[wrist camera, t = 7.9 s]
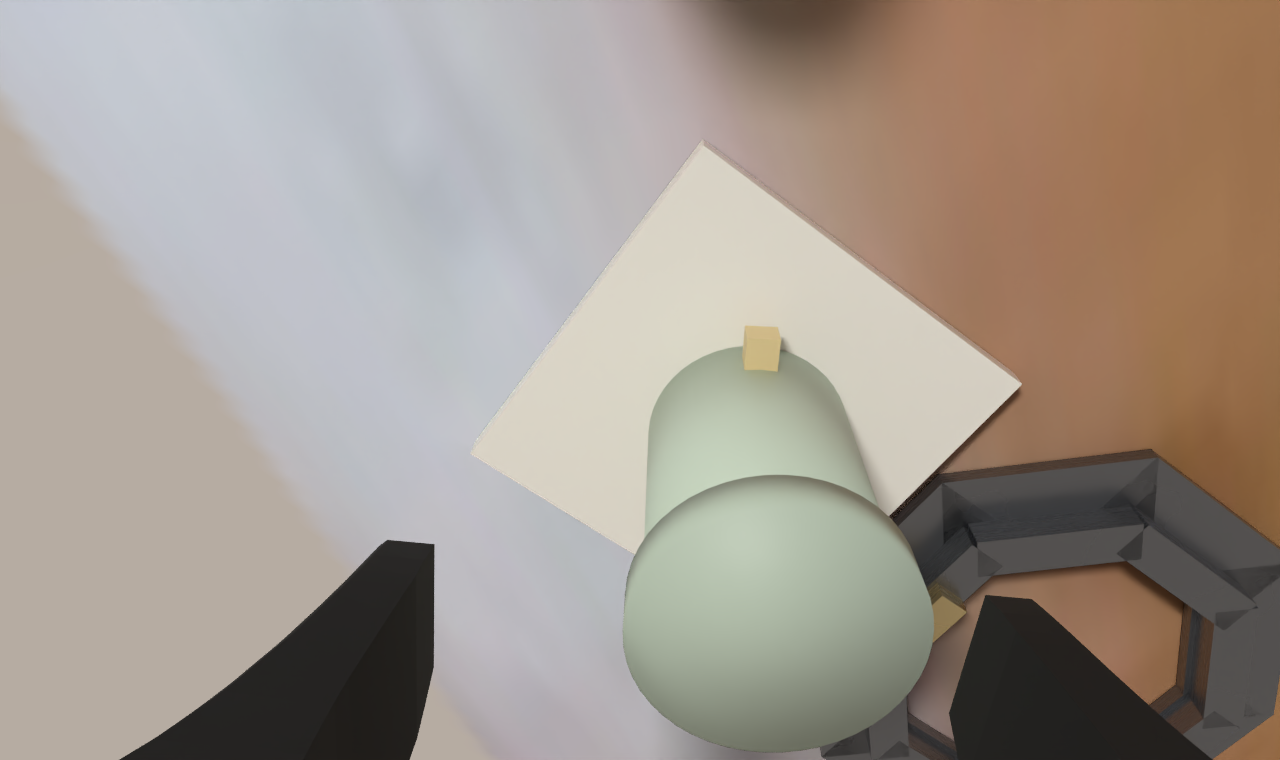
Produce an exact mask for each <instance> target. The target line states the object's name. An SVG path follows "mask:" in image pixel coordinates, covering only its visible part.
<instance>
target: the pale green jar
mask: <svg viewBox="0 0 1280 760" xmlns="http://www.w3.org/2000/svg"><path fill="white" fill-rule="evenodd" d="M780 345H781V338H780V334H779V330H778V327H767V326H745V331H744V342H743V346H740V347H732V348H727V349H723V350H719V351H716V352H713V353H711V354H708V355H705V356H703V357H701V358H699V359H698V360H696V361H694V362H692V363H691V364H689V365H688V366H686V367H685V368H684V369H682V370H681V371H680V372H679V373H678V374H677V375H676V376H674V377H673V378H672V379H671V381H670V382H669V383H668V384H667V385H666V387H665V388H664V389H663V391H662V393H661V394H660V396H659V397H658V399H657V401H656V404H655V406H654V408H653V411H652V415H651V418H650V424H649V432H648V457H647V482H646V508H645V533H644V540H643V542H642V543H641V545H640V546H639V548H638V550H637V552H636V554H635V556H634V558H633V561H632V563H631V566H630V570H629V573H628V577H627V583H626V591H625V604H624V620H623V647H624V652H625V656H626V661H627V664H628V667H629V669H630V672H631V675H632V677H633V679H634V681H635V682H636V684H637V686H638V688H639V689H640V691H641V692H642V694H643V695H644V696H645V697H646V699H647V700H648V701H649V702H650V704H651V705H652V706H653V707H654V708H656V709H657V710H658V711H659V712H660V713H661V714H662V715H663V716H664V717H666V718H667V719H668V720H670V721H671V722H672V723H674V724H675V725H676V726H678V727H680V728H682V729H683V730H685V731H687V732H689V733H690V734H692V735H694V736H697V737H699V738H701V739H704V740H706V741H708V742H712V743H715V744H718V745H721V746H725V747H729V748H734V749H739V750H744V751H754V752H791V751H801V750H806V749H811V748H817V747H821V746H824V745H828V744H831V743H834V742H838V741H840V740H843V739H845V738H848V737H850V736H852V735H855V734H857V733H859V732H860V731H862V730H864V729H866V728H868V727H870V726H872V725H873V724H874V723H876V722H877V721H879V720H880V719H882V718H883V717H884V716H886V715H887V714H888V713H889V712H891V711H892V710H893V709H894V708H895V707H896V706H897V705H898V704H900V702H901V701H902V700H903V699H904V698H905V697H906V696H907V694H908V693H909V692H910V691H911V690H912V688H913V687H914V685H915V684H916V682H917V681H918V679H919V678H920V676H921V674H922V672H923V670H924V668H925V666H926V663H927V661H928V658H929V654H930V651H931V648H932V642H933V635H934V614H933V609H932V604H931V600H930V596H929V593H928V591H927V588H926V585H925V583H924V580H923V578H922V575H921V572H920V570H919V567H918V564H917V562H916V559H915V556H914V554H913V551H912V549H911V546H910V545H909V543H908V541H907V540H906V538H905V536H904V535H903V533H902V531H901V530H900V529H899V528H898V526H897V525H896V524H895V523H894V522H893V520H892V519H891V518H890V517H889V516H888V515H886V514H885V513H884V512H883V511H882V510H881V509H880V508H879V506H878V503H877V500H876V498H875V495H874V492H873V489H872V486H871V483H870V480H869V477H868V475H867V472H866V469H865V466H864V463H863V460H862V457H861V454H860V452H859V449H858V446H857V443H856V440H855V437H854V434H853V431H852V429H851V426H850V423H849V420H848V417H847V414H846V411H845V408H844V406H843V403H842V401H841V398H840V396H839V394H838V393H837V391H836V389H835V387H834V386H833V385H832V383H831V382H830V381H829V380H828V378H827V377H826V376H825V375H824V374H823V373H822V372H821V371H820V370H818V369H817V368H816V367H815V366H813V365H812V364H810V363H809V362H808V361H806V360H804V359H802V358H800V357H798V356H796V355H794V354H791V353H789V352H786V351H783V350H780Z"/></svg>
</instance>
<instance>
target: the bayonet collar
mask: <svg viewBox="0 0 1280 760" xmlns="http://www.w3.org/2000/svg"><path fill="white" fill-rule="evenodd" d="M892 520H893V522H894V523H895V524H896V525H897V526H898V528H899V529H900V530H901V531H902V533H903V535H904V536H905V538H906V540H907V541H908V543H909V545H910V546H911V549H912V551H913V554H914V556H915V559H916V562H917V564H918V567H919V570H920V572H921V575H922V578H923V580H924V583H925V585H926V588H927V591H928V593H929V596H930V600H931V604H932V609H933V614H934V635H933V642H935V641H936V640H937V639H938V638H939V637H940V636H941V635H942V634H943V633H945V632H946V631H947V630H948V629H949V628H950V627H951V626H952V625H953V624H955V623H956V622H957V621H958V620H959V619H960V618H961V617H962V616H963V615H965V614H966V613H967V611H966V609H965V606H964V604H963V602H964V601H965V600H966V599H967V598H968V597H969V596H971V595H972V594H973V593H974V592H975V591H976V590H977V589H978V588H979V587H980V586H982V585H983V584H984V583H985V582H986V581H987V580H988V579H989V578H990V577H992V576H993V575H1002V574H1011V573H1020V572H1030V571H1039V570H1048V569H1057V568H1066V567H1075V566H1085V565H1094V564H1103V563H1112V562H1121V561H1127V562H1129V563H1130V564H1131V565H1133V566H1134V567H1135V568H1137V569H1138V570H1140V571H1141V572H1142V573H1144V574H1145V575H1147V576H1148V577H1149V578H1151V579H1152V580H1154V581H1155V582H1156V583H1158V584H1159V585H1161V586H1162V587H1163V588H1165V589H1166V590H1168V591H1169V592H1170V593H1172V594H1173V595H1175V596H1176V597H1177V598H1179V599H1180V600H1182V601H1183V602H1184V609H1183V619H1182V629H1181V639H1180V650H1179V660H1178V670H1177V681H1176V685H1175V686H1174V687H1172V688H1171V689H1170V690H1169V691H1167V692H1166V693H1165V694H1163V695H1162V696H1161V697H1159V698H1158V699H1157V700H1156V701H1154V702H1153V703H1152V704H1150V705H1149V706H1150V707H1151V708H1152V709H1154V710H1155V711H1156V712H1157V713H1158V714H1159V715H1160V716H1161V717H1163V718H1164V719H1165V720H1166V721H1167V722H1168V723H1170V724H1171V725H1172V726H1173V727H1174V728H1175V729H1176V730H1178V731H1179V732H1180V733H1181V734H1182V735H1183V736H1185V737H1186V738H1187V739H1188V740H1189V741H1191V742H1192V743H1193V744H1194V745H1195V746H1197V747H1198V748H1199V749H1200V750H1202V751H1203V752H1204V753H1205V754H1206V755H1208V756H1209V757H1210V758H1211V759H1213V758H1215V757H1216V756H1217V755H1219V754H1220V753H1221V752H1223V751H1224V750H1226V749H1227V748H1228V747H1230V746H1231V745H1232V744H1234V743H1235V742H1236V741H1238V740H1239V739H1241V738H1242V737H1243V736H1245V735H1246V734H1247V733H1249V732H1250V731H1252V730H1253V729H1254V728H1256V727H1257V726H1258V725H1260V724H1261V723H1263V722H1264V721H1265V720H1267V719H1268V718H1269V717H1271V716H1272V715H1274V708H1275V702H1276V695H1277V689H1278V682H1279V676H1280V547H1279V546H1277V545H1276V544H1275V543H1274V542H1272V541H1271V540H1270V539H1268V538H1267V537H1266V536H1264V535H1263V534H1262V533H1260V532H1259V531H1258V530H1256V529H1255V528H1254V527H1252V526H1251V525H1250V524H1249V523H1247V522H1246V521H1245V520H1243V519H1242V518H1241V517H1239V516H1238V515H1237V514H1235V513H1234V512H1233V511H1231V510H1230V509H1229V508H1228V507H1226V506H1225V505H1224V504H1222V503H1221V502H1220V501H1218V500H1217V499H1216V498H1214V497H1213V496H1212V495H1210V494H1209V493H1208V492H1207V491H1205V490H1204V489H1203V488H1201V487H1200V486H1199V485H1197V484H1196V483H1195V482H1193V481H1192V480H1191V479H1189V478H1188V477H1187V476H1185V475H1184V474H1183V473H1182V472H1180V471H1179V470H1178V469H1176V468H1175V467H1174V466H1172V465H1171V464H1170V463H1168V462H1167V461H1166V460H1164V459H1163V458H1162V457H1161V456H1159V455H1158V454H1157V453H1155V452H1154V451H1153V450H1152V449H1147V450H1139V451H1130V452H1122V453H1114V454H1105V455H1097V456H1088V457H1080V458H1072V459H1063V460H1055V461H1046V462H1038V463H1030V464H1021V465H1013V466H1004V467H996V468H988V469H979V470H971V471H962V472H954V473H945V474H938V475H937V476H936V477H935V478H934V479H933V480H932V481H931V482H930V483H929V484H928V485H927V486H926V487H925V488H924V489H923V490H922V491H921V492H920V493H919V494H918V495H917V496H916V497H915V498H914V499H913V500H912V501H911V502H910V503H909V504H908V505H907V506H906V507H905V508H904V509H903V510H902V511H901V512H900V513H899V514H897V515H896V516H895V517H894V518H893V519H892ZM933 642H932V643H933ZM820 750H821V756H822V757H823V758H825V759H826V760H958V756H957V751H956V746H955V742H954V741H952V740H951V739H949V738H948V737H946V736H944V735H943V734H941V733H939V732H938V731H936V730H935V729H933V728H931V727H930V726H928V725H926V724H925V723H923V722H922V721H920V720H918V719H917V718H915V717H914V716H912V715H910V714H909V713H907V696H906V697H905V698H904V699H903V700H902V701H901V702H900V704H898V705H897V706H896V707H895V708H894V709H893V710H892V711H891V712H889V713H888V714H887V715H886V716H884V717H883V718H882V719H880V720H879V721H877V722H876V723H874V724H873V725H872V726H870V727H868V728H866V729H864V730H862V731H860V732H859V733H857V734H855V735H852V736H850V737H848V738H845V739H843V740H840V741H838V742H834V743H831V744H828V745H824V746H821V747H820Z"/></svg>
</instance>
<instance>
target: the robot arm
mask: <svg viewBox="0 0 1280 760" xmlns="http://www.w3.org/2000/svg"><path fill="white" fill-rule="evenodd" d="M433 668H434V544H425V543H414V542H403V541H393V540H387V541H385V542H384V543H383V544H381V545H380V546H379V547H378V548H377V549H376V550H375V551H374V552H373V553H372V554H371V555H370V556H369V557H368V558H367V559H366V560H365V561H364V562H363V563H362V564H361V565H360V566H359V567H358V568H357V569H356V571H355V572H354V573H353V574H352V575H351V576H350V577H349V578H348V579H347V580H346V581H345V582H344V583H343V584H342V585H341V586H340V587H339V588H338V589H337V590H336V591H335V592H334V593H332V595H330V596H329V597H328V598H327V599H326V600H325V601H324V602H323V603H322V604H321V605H320V606H319V607H318V608H317V609H316V610H315V611H314V612H313V613H312V614H310V615H309V616H308V617H307V618H306V619H305V620H304V621H303V622H302V623H301V624H300V625H299V626H297V627H296V628H295V629H294V630H293V631H292V632H291V633H290V634H289V635H288V636H287V637H285V638H284V639H283V640H282V641H281V642H280V643H279V644H278V645H277V646H275V647H274V648H273V649H272V650H270V651H269V652H268V653H267V654H266V655H264V656H263V657H262V658H261V659H260V660H258V661H257V662H256V663H255V664H254V665H252V666H251V667H250V668H249V669H248V670H246V671H245V672H244V673H243V674H242V675H240V676H239V677H238V678H237V679H236V680H234V681H233V682H232V683H231V684H229V685H228V686H227V687H226V688H224V689H223V690H222V691H220V692H219V693H218V694H216V695H215V696H214V697H213V698H211V699H210V700H208V701H207V702H206V703H204V704H203V705H202V706H200V707H199V708H198V709H196V710H195V711H194V712H192V713H191V714H189V715H188V716H186V717H185V718H184V719H182V720H181V721H179V722H178V723H176V724H175V725H174V726H172V727H171V728H169V729H168V730H166V731H165V732H163V733H162V734H161V735H159V736H158V737H156V738H155V739H153V740H151V741H150V742H148V743H146V744H145V745H143V746H141V747H140V748H138V749H136V750H135V751H133V752H131V753H130V754H128V755H127V756H125V757H123V758H121V759H120V760H409V759H410V757H411V754H412V751H413V748H414V745H415V742H416V740H417V736H418V732H419V728H420V724H421V719H422V715H423V711H424V707H425V703H426V698H427V694H428V690H429V685H430V681H431V676H432V672H433ZM949 715H950V720H951V725H952V730H953V735H954V741H955V746H956V751H957V756H958V760H1213V759H1211V758H1210V757H1209V756H1208V755H1206V754H1205V753H1204V752H1203V751H1202V750H1200V749H1199V748H1198V747H1197V746H1195V745H1194V744H1193V743H1192V742H1191V741H1189V740H1188V739H1187V738H1186V737H1185V736H1183V735H1182V734H1181V733H1180V732H1179V731H1178V730H1176V729H1175V728H1174V727H1173V726H1172V725H1171V724H1170V723H1168V722H1167V721H1166V720H1165V719H1164V718H1163V717H1161V716H1160V715H1159V714H1158V713H1157V712H1156V711H1155V710H1154V709H1152V708H1151V707H1150V706H1149V705H1148V704H1147V703H1146V702H1145V701H1143V700H1142V699H1141V698H1140V697H1139V696H1138V695H1137V694H1136V693H1135V692H1133V691H1132V690H1131V689H1130V688H1129V687H1128V686H1127V685H1126V684H1125V683H1124V682H1122V681H1121V680H1120V679H1119V678H1118V677H1117V676H1116V675H1115V674H1114V673H1113V672H1112V671H1110V670H1109V669H1108V668H1107V667H1106V666H1105V665H1104V664H1103V663H1102V662H1101V661H1100V660H1099V659H1098V658H1096V657H1095V656H1094V655H1093V654H1092V653H1091V652H1090V651H1089V650H1088V649H1087V648H1086V647H1085V646H1084V645H1082V644H1081V643H1080V642H1079V641H1078V640H1077V639H1076V638H1075V637H1074V636H1073V635H1072V634H1071V633H1070V632H1068V631H1067V630H1066V629H1065V628H1064V627H1063V626H1062V625H1061V624H1060V623H1059V622H1058V621H1056V620H1055V619H1054V618H1053V617H1052V616H1051V615H1050V614H1049V613H1047V612H1046V611H1045V610H1044V609H1043V608H1042V607H1040V606H1039V605H1038V604H1037V603H1036V602H1034V601H1033V600H1032V599H1023V598H1012V597H1001V596H990V595H985V598H984V602H983V605H982V608H981V611H980V615H979V618H978V621H977V624H976V628H975V631H974V634H973V637H972V641H971V644H970V647H969V650H968V654H967V657H966V660H965V663H964V667H963V670H962V673H961V676H960V680H959V683H958V686H957V689H956V693H955V696H954V699H953V702H952V706H951V709H950V712H949Z"/></svg>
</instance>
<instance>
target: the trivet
mask: <svg viewBox="0 0 1280 760" xmlns="http://www.w3.org/2000/svg"><path fill="white" fill-rule="evenodd" d="M745 326H767V327H778V330H779V334H780V338H781V345H780V350H783V351H786V352H789V353H791V354H794V355H796V356H798V357H800V358H802V359H804V360H806V361H808V362H809V363H810V364H812V365H813V366H815V367H816V368H817V369H818V370H820V371H821V372H822V373H823V374H824V375H825V376H826V377H827V378H828V380H829V381H830V382H831V383H832V385H833V386H834V387H835V389H836V391H837V393H838V394H839V396H840V398H841V401H842V403H843V406H844V408H845V411H846V414H847V417H848V420H849V423H850V426H851V429H852V431H853V434H854V437H855V440H856V443H857V446H858V449H859V452H860V454H861V457H862V460H863V463H864V466H865V469H866V472H867V475H868V477H869V480H870V483H871V486H872V489H873V492H874V495H875V498H876V500H877V503H878V506H879V508H880V509H881V510H882V511H883V512H884V513H885V514H886V515H888V516H889V515H891V514H892V513H893V512H894V511H895V510H896V509H897V508H898V507H899V506H900V505H901V504H902V503H903V502H904V501H905V500H906V499H907V498H908V497H909V496H910V495H911V494H912V493H913V492H914V491H915V490H916V489H917V488H918V487H919V486H920V485H921V484H922V483H923V482H924V481H925V480H926V479H927V478H928V477H929V476H930V475H931V474H932V473H933V472H934V471H935V470H936V469H937V468H938V467H939V466H940V465H941V464H942V463H943V462H944V461H945V460H946V459H947V458H948V457H949V456H950V455H951V454H952V453H953V452H954V451H955V450H956V449H957V448H958V447H959V446H960V445H961V444H962V443H963V442H964V441H965V440H966V439H967V438H968V437H969V436H970V435H971V434H972V433H973V432H974V431H975V430H976V429H977V428H978V427H979V426H980V425H981V424H983V423H984V422H985V421H986V420H987V419H988V418H989V417H990V416H991V415H992V414H993V413H994V412H995V411H996V410H997V409H998V408H999V407H1000V406H1001V405H1002V404H1003V403H1004V402H1005V401H1006V400H1007V399H1008V398H1009V397H1010V396H1011V395H1012V394H1013V393H1014V392H1015V391H1016V390H1017V389H1018V388H1019V387H1020V386H1021V385H1022V383H1021V382H1020V381H1019V379H1018V378H1017V377H1016V375H1015V374H1014V373H1013V372H1012V371H1011V370H1009V369H1008V368H1007V367H1005V366H1004V365H1003V364H1001V363H1000V362H999V361H997V360H996V359H995V358H993V357H992V356H991V355H989V354H988V353H987V352H985V351H984V350H983V349H981V348H980V347H979V346H977V345H976V344H975V343H973V342H972V341H971V340H969V339H968V338H967V337H965V336H964V335H963V334H961V333H960V332H959V331H957V330H956V329H955V328H953V327H952V326H951V325H949V324H948V323H947V322H945V321H944V320H943V319H941V318H940V317H939V316H937V315H936V314H935V313H933V312H932V311H931V310H929V309H928V308H927V307H925V306H924V305H923V304H921V303H920V302H919V301H917V300H916V299H915V298H914V297H912V296H911V295H910V294H908V293H907V292H906V291H904V290H903V289H902V288H900V287H899V286H898V285H896V284H895V283H894V282H892V281H891V280H890V279H888V278H887V277H886V276H884V275H883V274H882V273H880V272H879V271H878V270H876V269H875V268H874V267H872V266H871V265H870V264H868V263H867V262H866V261H864V260H863V259H862V258H860V257H859V256H858V255H856V254H855V253H854V252H852V251H851V250H850V249H848V248H847V247H846V246H844V245H843V244H842V243H840V242H839V241H838V240H836V239H835V238H834V237H832V236H831V235H830V234H828V233H827V232H826V231H824V230H823V229H822V228H820V227H819V226H818V225H816V224H815V223H814V222H812V221H811V220H810V219H808V218H807V217H806V216H804V215H803V214H802V213H800V212H799V211H798V210H796V209H795V208H794V207H792V206H791V205H790V204H788V203H787V202H786V201H784V200H783V199H782V198H780V197H779V196H778V195H776V194H775V193H774V192H772V191H771V190H770V189H768V188H767V187H766V186H765V185H763V184H762V183H761V182H759V181H758V180H757V179H755V178H754V177H753V176H751V175H750V174H749V173H747V172H746V171H745V170H743V169H742V168H741V167H739V166H738V165H737V164H735V163H734V162H733V161H731V160H730V159H729V158H727V157H726V156H725V155H723V154H722V153H721V152H719V151H718V150H717V149H715V148H714V147H713V146H711V145H710V144H709V143H707V142H706V141H705V140H703V139H702V141H701V142H700V143H699V145H698V146H697V147H696V149H695V150H694V151H693V153H692V154H691V155H690V157H689V158H688V159H687V161H686V162H685V163H684V165H683V166H682V167H681V169H680V170H679V171H678V173H677V174H676V175H675V177H674V178H673V179H672V181H671V182H670V183H669V184H668V186H667V187H666V188H665V190H664V191H663V192H662V194H661V195H660V196H659V198H658V199H657V200H656V202H655V203H654V204H653V206H652V207H651V208H650V210H649V211H648V212H647V214H646V215H645V216H644V218H643V219H642V220H641V222H640V223H639V224H638V226H637V227H636V228H635V230H634V231H633V232H632V234H631V235H630V236H629V238H628V239H627V240H626V242H625V243H624V244H623V246H622V247H621V248H620V250H619V251H618V252H617V254H616V255H615V256H614V258H613V259H612V260H611V262H610V263H609V264H608V265H607V267H606V268H605V269H604V271H603V272H602V273H601V275H600V276H599V277H598V279H597V280H596V281H595V283H594V284H593V285H592V287H591V288H590V289H589V291H588V292H587V293H586V295H585V296H584V297H583V299H582V300H581V301H580V303H579V304H578V305H577V307H576V308H575V309H574V311H573V312H572V313H571V315H570V316H569V317H568V319H567V320H566V321H565V323H564V324H563V325H562V327H561V328H560V329H559V331H558V332H557V333H556V335H555V336H554V337H553V339H552V340H551V341H550V343H549V344H548V345H547V346H546V348H545V349H544V350H543V352H542V353H541V354H540V356H539V357H538V358H537V360H536V361H535V362H534V364H533V365H532V366H531V368H530V369H529V370H528V372H527V373H526V374H525V376H524V377H523V378H522V380H521V381H520V382H519V384H518V385H517V386H516V388H515V389H514V390H513V392H512V393H511V394H510V396H509V397H508V398H507V400H506V401H505V402H504V404H503V405H502V406H501V408H500V409H499V410H498V412H497V413H496V414H495V416H494V417H493V418H492V420H491V421H490V422H489V424H488V425H487V426H486V427H485V429H484V430H483V431H482V433H481V434H480V435H479V437H478V438H477V439H476V441H475V443H474V446H473V448H472V451H471V455H473V456H475V457H476V458H478V459H480V460H481V461H483V462H484V463H486V464H488V465H489V466H491V467H493V468H494V469H496V470H497V471H499V472H501V473H502V474H504V475H506V476H507V477H509V478H511V479H512V480H514V481H515V482H517V483H519V484H520V485H522V486H524V487H525V488H527V489H528V490H530V491H532V492H533V493H535V494H537V495H538V496H540V497H541V498H543V499H545V500H546V501H548V502H550V503H551V504H553V505H554V506H556V507H558V508H559V509H561V510H563V511H564V512H566V513H567V514H569V515H571V516H572V517H574V518H576V519H577V520H579V521H580V522H582V523H584V524H585V525H587V526H589V527H590V528H592V529H594V530H595V531H597V532H598V533H600V534H602V535H603V536H605V537H607V538H608V539H610V540H611V541H613V542H615V543H616V544H618V545H620V546H621V547H623V548H624V549H626V550H628V551H629V552H631V553H633V554H634V555H635V554H636V552H637V550H638V548H639V546H640V545H641V543H642V542H643V540H644V533H645V508H646V482H647V457H648V432H649V424H650V418H651V415H652V411H653V408H654V406H655V404H656V401H657V399H658V397H659V396H660V394H661V393H662V391H663V389H664V388H665V387H666V385H667V384H668V383H669V382H670V381H671V379H672V378H673V377H674V376H676V375H677V374H678V373H679V372H680V371H681V370H682V369H684V368H685V367H686V366H688V365H689V364H691V363H692V362H694V361H696V360H698V359H699V358H701V357H703V356H705V355H708V354H711V353H713V352H716V351H719V350H723V349H727V348H732V347H740V346H743V342H744V331H745Z"/></svg>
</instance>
